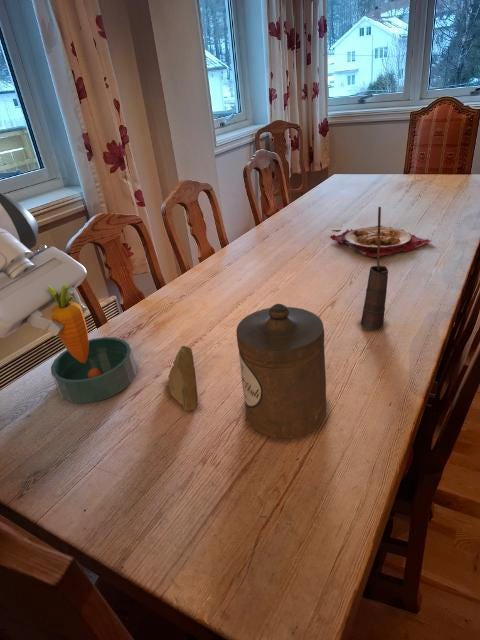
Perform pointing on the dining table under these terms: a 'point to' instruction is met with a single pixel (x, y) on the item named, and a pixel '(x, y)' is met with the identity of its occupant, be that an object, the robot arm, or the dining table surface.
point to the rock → (184, 379)
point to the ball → (94, 373)
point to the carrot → (71, 324)
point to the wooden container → (283, 370)
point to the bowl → (106, 357)
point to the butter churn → (375, 292)
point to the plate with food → (389, 240)
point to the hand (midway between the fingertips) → (72, 322)
